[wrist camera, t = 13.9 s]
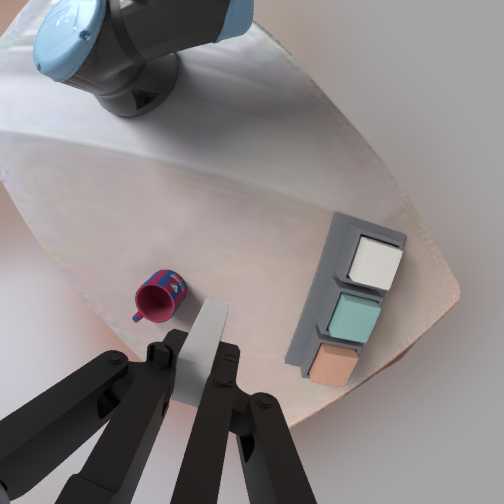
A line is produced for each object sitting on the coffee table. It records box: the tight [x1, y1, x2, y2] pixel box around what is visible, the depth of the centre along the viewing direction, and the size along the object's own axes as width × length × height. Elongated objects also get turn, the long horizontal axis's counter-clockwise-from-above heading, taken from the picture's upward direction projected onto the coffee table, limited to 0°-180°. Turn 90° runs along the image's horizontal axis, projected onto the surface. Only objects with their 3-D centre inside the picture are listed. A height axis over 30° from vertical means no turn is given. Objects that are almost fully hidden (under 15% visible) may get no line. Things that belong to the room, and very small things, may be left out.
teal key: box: [328, 292, 381, 343], centre depth 43 cm, size 6×6×5 cm
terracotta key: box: [309, 343, 359, 387], centre depth 45 cm, size 6×6×5 cm
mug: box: [132, 270, 186, 323], centre depth 47 cm, size 7×10×7 cm
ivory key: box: [347, 234, 403, 290], centre depth 41 cm, size 6×6×5 cm
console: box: [285, 212, 406, 379], centre depth 46 cm, size 28×13×6 cm, turn 166°
